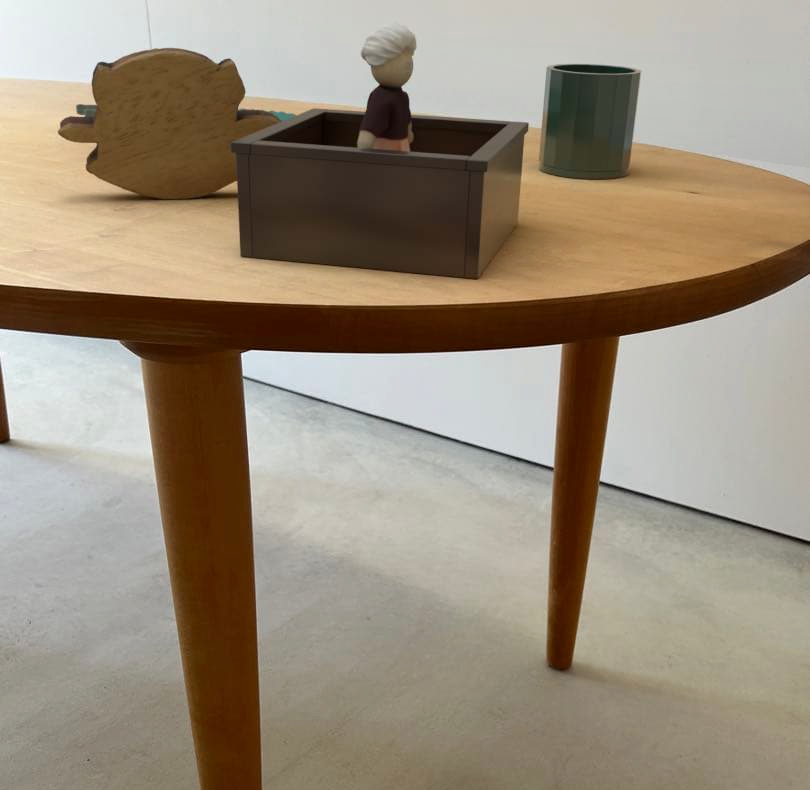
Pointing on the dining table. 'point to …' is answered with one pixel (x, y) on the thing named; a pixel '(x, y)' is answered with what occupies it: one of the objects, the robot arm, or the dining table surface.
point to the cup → (588, 120)
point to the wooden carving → (166, 123)
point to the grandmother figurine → (388, 89)
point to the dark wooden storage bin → (380, 193)
